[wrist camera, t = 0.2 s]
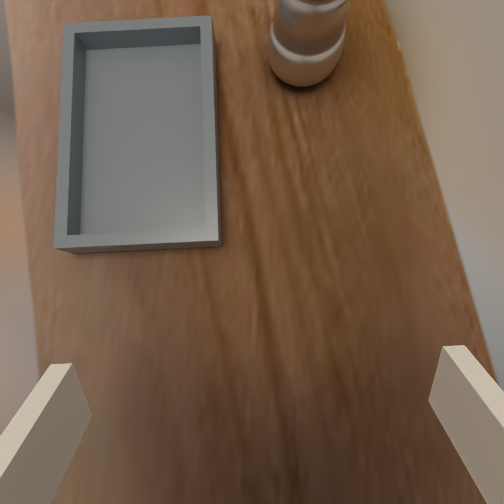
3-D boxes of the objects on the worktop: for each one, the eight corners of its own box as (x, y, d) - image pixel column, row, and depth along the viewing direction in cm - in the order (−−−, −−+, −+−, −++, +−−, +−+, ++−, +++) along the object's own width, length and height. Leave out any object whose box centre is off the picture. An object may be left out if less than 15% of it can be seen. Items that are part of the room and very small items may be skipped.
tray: (222, 246, 29) (218, 240, 26) (74, 253, 29) (53, 248, 27) (215, 41, 32) (211, 15, 29) (81, 48, 32) (63, 23, 30)
